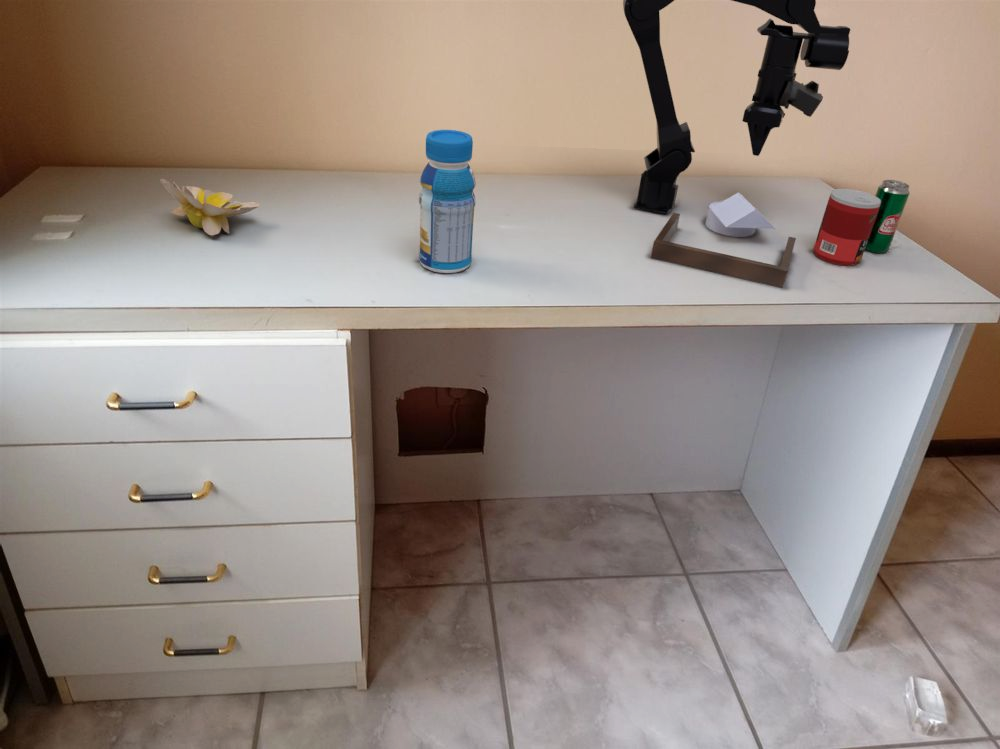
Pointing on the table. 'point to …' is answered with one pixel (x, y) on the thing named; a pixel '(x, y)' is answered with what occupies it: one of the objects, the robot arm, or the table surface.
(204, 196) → the decorative flower
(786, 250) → the bay
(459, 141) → the beverage bottle
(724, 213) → the wedge on round base
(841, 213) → the canned food
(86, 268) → the table surface
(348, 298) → the table surface
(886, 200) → the soda can
